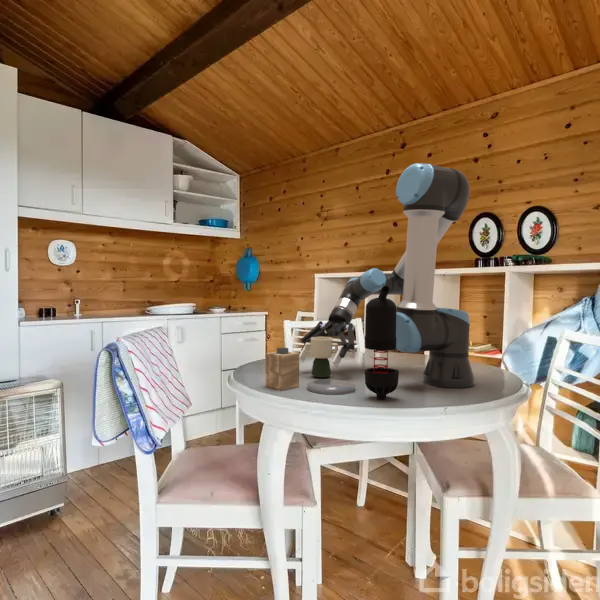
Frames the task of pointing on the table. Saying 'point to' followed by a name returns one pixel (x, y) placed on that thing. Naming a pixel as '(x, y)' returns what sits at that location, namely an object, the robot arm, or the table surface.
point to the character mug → (321, 355)
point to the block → (282, 370)
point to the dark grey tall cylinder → (282, 350)
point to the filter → (381, 343)
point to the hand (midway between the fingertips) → (317, 362)
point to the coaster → (331, 387)
